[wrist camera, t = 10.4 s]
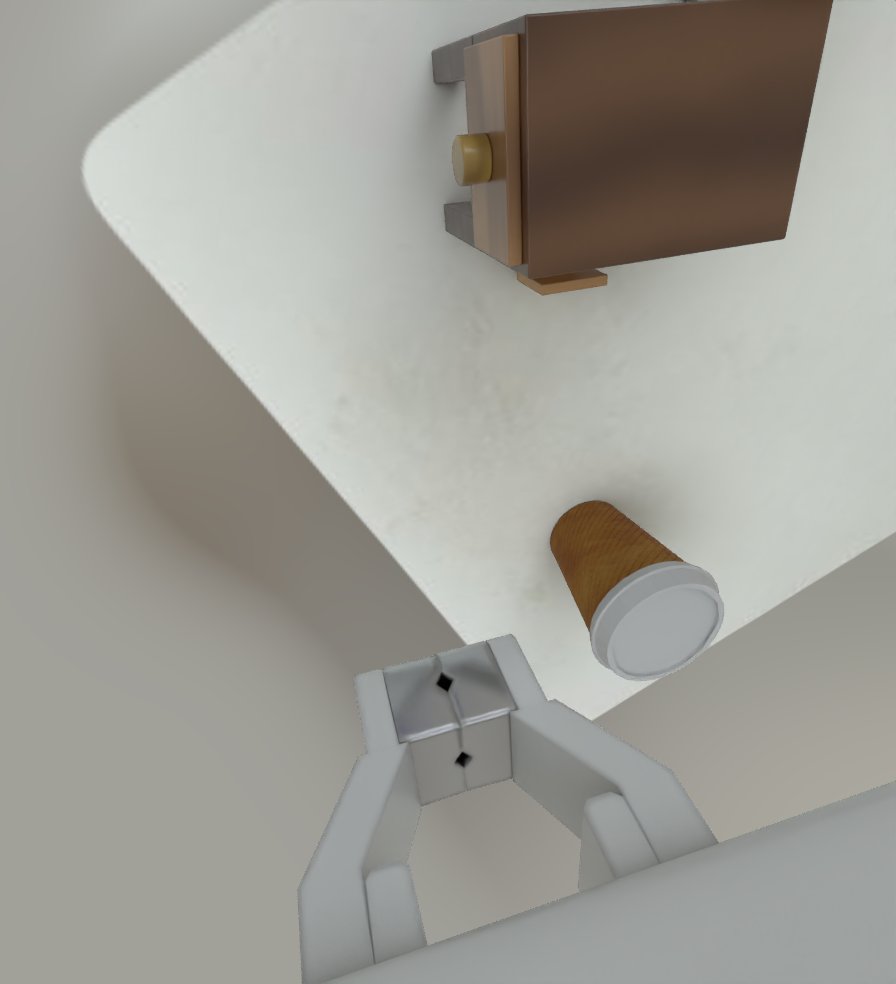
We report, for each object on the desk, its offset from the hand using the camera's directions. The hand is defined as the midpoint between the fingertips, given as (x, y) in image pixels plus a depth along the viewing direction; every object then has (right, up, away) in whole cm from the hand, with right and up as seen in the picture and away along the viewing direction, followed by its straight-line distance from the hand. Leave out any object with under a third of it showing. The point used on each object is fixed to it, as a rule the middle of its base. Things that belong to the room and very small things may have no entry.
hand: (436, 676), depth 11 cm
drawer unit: (+6, +23, +23) cm, 33 cm away
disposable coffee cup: (+12, 0, +39) cm, 41 cm away
